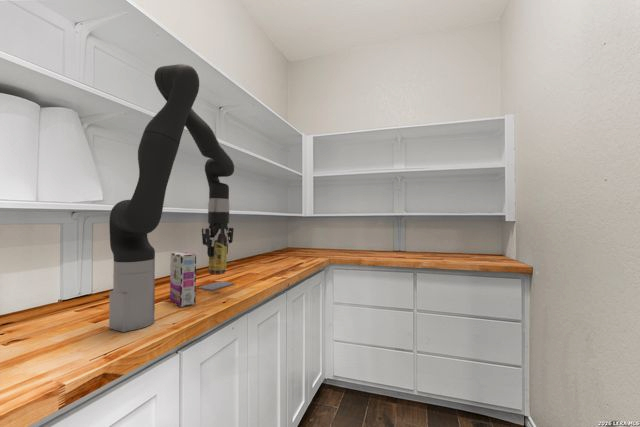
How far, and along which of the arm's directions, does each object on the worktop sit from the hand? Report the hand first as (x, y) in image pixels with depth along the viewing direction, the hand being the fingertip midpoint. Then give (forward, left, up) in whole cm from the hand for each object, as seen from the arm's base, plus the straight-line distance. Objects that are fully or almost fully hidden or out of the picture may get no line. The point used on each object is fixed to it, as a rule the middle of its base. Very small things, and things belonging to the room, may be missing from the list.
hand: (218, 255), depth 107 cm
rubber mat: (+7, +8, -14) cm, 18 cm away
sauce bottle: (0, 0, -7) cm, 7 cm away
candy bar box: (-14, +2, -14) cm, 20 cm away
